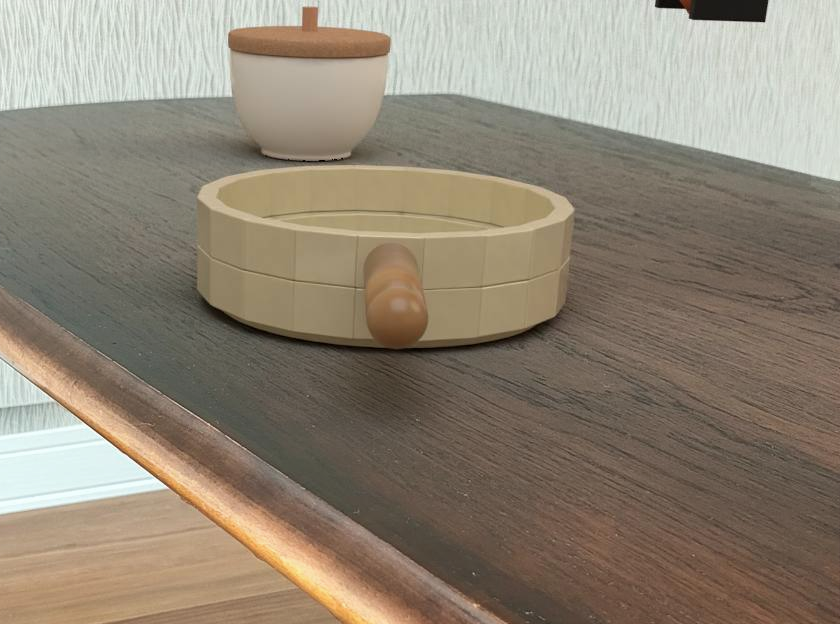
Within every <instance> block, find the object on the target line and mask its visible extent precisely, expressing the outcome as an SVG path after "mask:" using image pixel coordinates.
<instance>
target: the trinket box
mask: <svg viewBox="0 0 840 624" xmlns="http://www.w3.org/2000/svg"><path fill="white" fill-rule="evenodd" d="M301 9H302V11H301V12H302V13H301V25H267V26H266V25H265V26H248V27H239V28H234V29H232V30H230V31H229V32H228V33H227V46H228V47H227V48H228V49H229V78H230V89H231V90H230V91H231V95H232V96H231V97H232V100H233V105H234V109H235V111H236V114H237V117H238V119H239V122H240V123H241V126H242V127H243V129H244V130H245V131H246V133H247V134H248V136H249V137H250V138H251V139H252V140H253V141H254V143H256V144H257V145H258V146H259V147H260V153H261V154H262V155H264V156H266V155H267V156H266V157H269V158H275V159H279V160H288V159H289V160H288V161H303V160H305V161H307V162H308V161H309V162H320V161H319V160H325V161H335V160H334V159H337V160H342V159H341V158H343V159H346V158H349V157H351V156H352V150H353V149H354V148H355V147H357V146H358V145H360V143H361V142H362V141H363V140H364V139H365V138H366V137H367V136H368V134H369V133H370V132H371V130H372V128H373V127H374V125H375V124H376V121H377V119H378V117H379V115H380V112H381V108H382V104H383V101H384V99H385V98H384V97H385V92H386V87H387V78H388V68H389V67H388V65H389V64H388V63H389V54H390V52H391V44H392V43H391V42H392V38H391V37H390V35H388V34H385V33H383V32H378V31H373V30H364V29H357V28H347V27H346V28H345V27H332V26H319V25H318V23H319V22H318V21H319V7H318V6H309V5H308V6H307V5H306V6H302V8H301ZM332 159H333V160H332Z"/></svg>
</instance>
